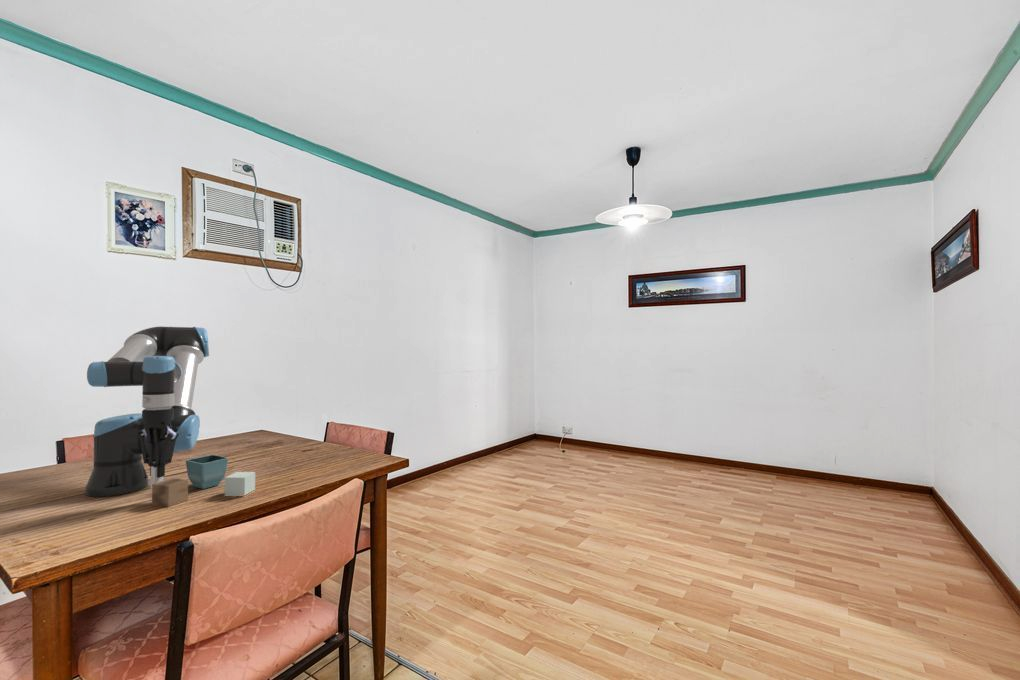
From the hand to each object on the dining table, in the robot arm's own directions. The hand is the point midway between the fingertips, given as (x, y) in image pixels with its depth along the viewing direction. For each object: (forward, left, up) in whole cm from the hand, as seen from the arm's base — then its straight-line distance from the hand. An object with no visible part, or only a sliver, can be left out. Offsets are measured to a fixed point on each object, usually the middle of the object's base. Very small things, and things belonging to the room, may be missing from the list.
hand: (157, 487), depth 134 cm
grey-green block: (+18, +12, -4) cm, 22 cm away
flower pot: (+2, +15, -4) cm, 16 cm away
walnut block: (+5, 0, -4) cm, 6 cm away
